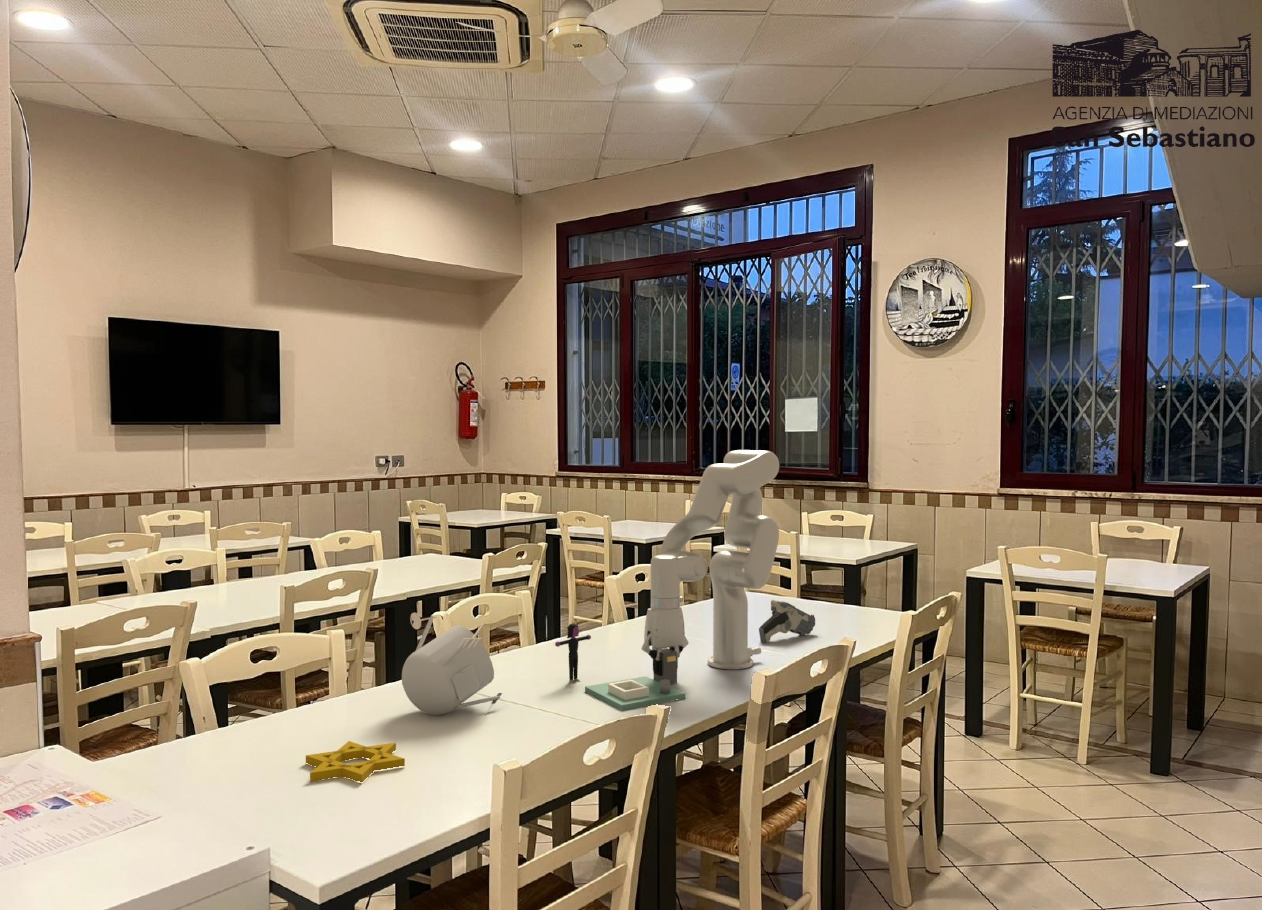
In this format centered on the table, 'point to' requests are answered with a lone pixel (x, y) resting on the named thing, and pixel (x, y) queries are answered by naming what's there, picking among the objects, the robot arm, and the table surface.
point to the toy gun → (786, 621)
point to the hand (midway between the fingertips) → (665, 672)
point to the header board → (635, 692)
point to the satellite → (447, 670)
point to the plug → (668, 666)
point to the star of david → (333, 767)
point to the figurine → (573, 649)
